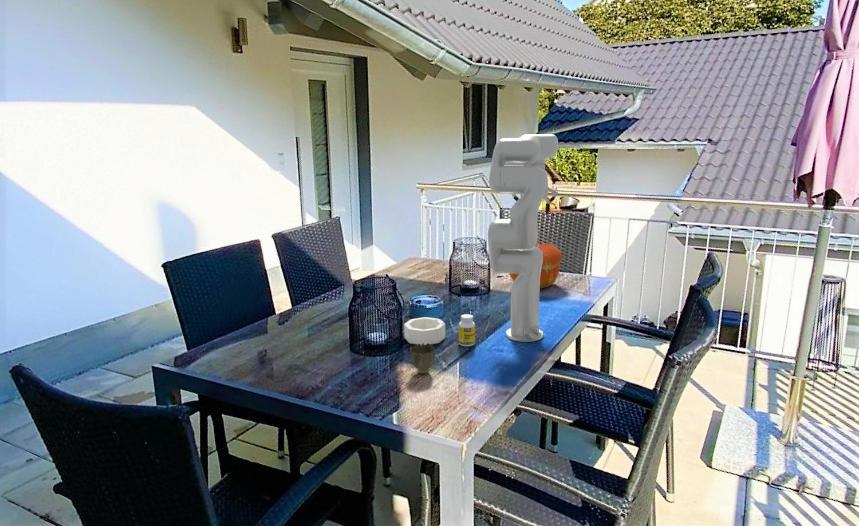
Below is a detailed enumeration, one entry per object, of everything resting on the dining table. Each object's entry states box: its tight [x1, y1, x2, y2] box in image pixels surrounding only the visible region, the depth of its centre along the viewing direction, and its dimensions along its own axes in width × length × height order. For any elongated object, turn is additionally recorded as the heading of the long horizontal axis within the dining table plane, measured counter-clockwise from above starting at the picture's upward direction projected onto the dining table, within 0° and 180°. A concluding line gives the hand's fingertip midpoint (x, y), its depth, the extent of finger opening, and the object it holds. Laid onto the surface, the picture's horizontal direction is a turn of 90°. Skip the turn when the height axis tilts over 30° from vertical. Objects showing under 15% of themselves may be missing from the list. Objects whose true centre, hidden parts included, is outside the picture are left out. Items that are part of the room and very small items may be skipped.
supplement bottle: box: [458, 313, 476, 347], centre depth 196 cm, size 5×5×10 cm
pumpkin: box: [509, 243, 563, 289], centre depth 260 cm, size 23×23×20 cm
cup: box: [409, 343, 436, 375], centre depth 174 cm, size 8×7×8 cm
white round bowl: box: [403, 316, 446, 346], centre depth 203 cm, size 13×13×5 cm
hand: (533, 213), depth 224 cm, fingers open, 9 cm apart
